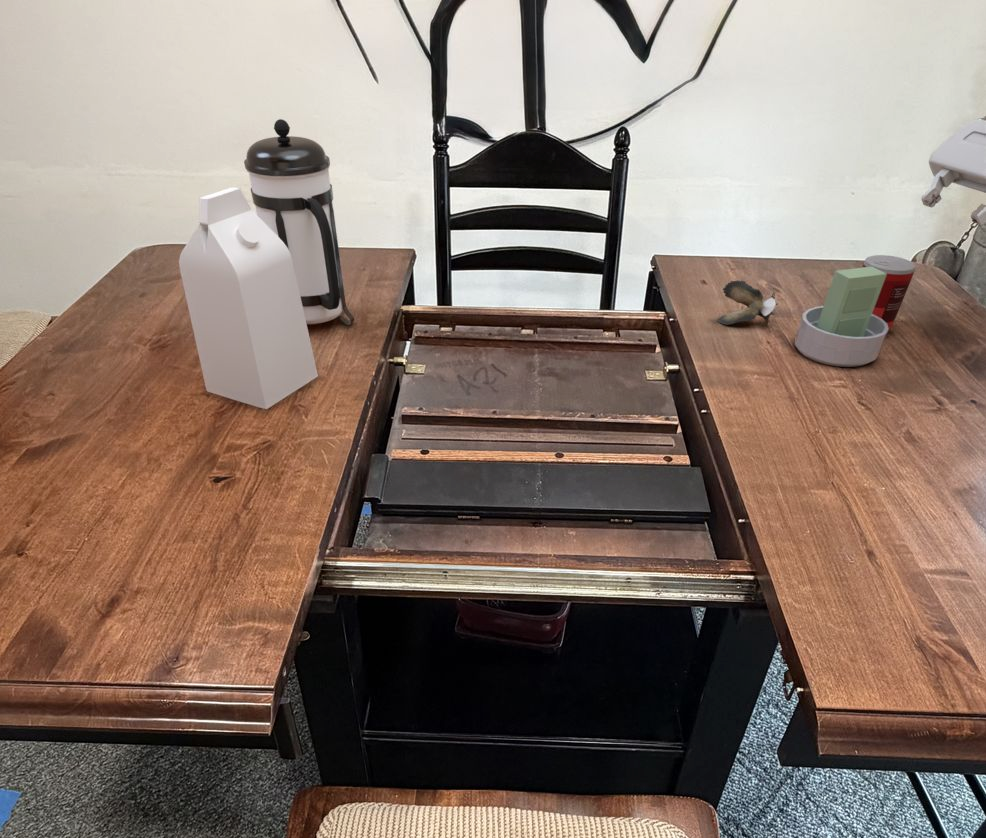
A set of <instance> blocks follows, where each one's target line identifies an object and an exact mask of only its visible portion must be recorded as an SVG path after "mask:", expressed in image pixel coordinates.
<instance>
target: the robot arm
mask: <svg viewBox="0 0 986 838" xmlns="http://www.w3.org/2000/svg"><path fill="white" fill-rule="evenodd" d="M928 165H929V168H930V171H931V173H932V175H933V177H934V178H933V181H932V182H931V185H930V188H929V189H928V190H927V191H926V192H925V193H924V194H923V195H922V196H921V200H920V201H921V203H922V205H923V206H926V207H928V208H934V207H935V206H936V204H938V203H940V201H941V200H942V196H941V194H942V193H941V192H942V191H943V189H944V188H948V187H949V186H950V185H951V184H956V185H959V186H962V187H965V188H968V189H972V190H975V191H978V192H982V193H985V194H986V115H985V116H983V117H980V118H978V119H973V120H971V121H969V122H968V123H965V125H963V126H962V127H959V129H958V130H956V131H955V132H954V133H953V134H952V135H950V136H949V137H948V138H947V139H945V140H944V141H943V142H942V143H941V144H940V145H938V147H936V149H935V150H934V151H932V152H931V154H930V156H929V159H928ZM970 219H971V220H972V221H971V222H972V223H974V224H976V225H978V226H983V225H984V224H986V204H983V203H981V204H979V206H977V208H976V209H975V210H973V211H972V212H971V214H970Z"/></svg>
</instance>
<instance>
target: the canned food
mask: <svg viewBox="0 0 986 838" xmlns="http://www.w3.org/2000/svg"><path fill="white" fill-rule="evenodd" d="M916 266H917V265H916V264H915V263H914V262H912V261H911V260H909V259H906V258H903V257H899V256H895V255H887V254H875V255H870V256H867V257H866V258H865V260H864V262H863V264H862V267H861V268H864V267H874V268H876V269H878V270H880V271H882V272H884V273H886V274H887V275H886V278H885V280H884V283H883V286H882V288H881V291H880V294H879V296H878V299H877V302H876V304H875V307H874V310H873V312H872V314H874V315H876V316H878V317H879V318H881V319H883V320H884V321H885V322H886V323H887V325H888V328H889V330H888V332H887V334H888V333H889V332H890V331H891V329H892V328H893V325H894V323H895V321H896V318H897V316H898V314H899V311H900V308H901V307H902V304H903V302H904V298H905V297H906V294H907V291H908V289H909V287H910V284H911V281H912V279H913V276H914V274H915V272H916V268H917V267H916Z"/></svg>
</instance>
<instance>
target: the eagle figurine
mask: <svg viewBox="0 0 986 838" xmlns="http://www.w3.org/2000/svg"><path fill="white" fill-rule="evenodd" d="M724 286H725V287H723V288H722V290H723V293H724V296H725V297H726V298H728V299H730V300H733V302H736V303H738V304H742V305H744V306H746V308H743V309H742V308H741V309H738V310H734V311H731V312H729V313H728V314H723V315H721V316H719V317H718V318H716V321H717V322H718V323H719V324H722V325H733V324H735V323H740V322H744V321H746V322H750V321H753V320H755V319H756V318H757V316H759V317H761V318H762V319H763V320H764V323H765V324H766V325H768V324H769V321H770V316H775V313H774V310H775V308H776V306H778V305H779V302H776V300H775V299H776V296H775V295H776V290H774V291H773V292H772V294H771V296H770V297H769V298H767V299H766V300H764V301H763V299H764V295H763V293H762V292H761V290H760V289H757V288H754V287H753V286H752V285H749V283H747V282H746V281H744V280H740V279H739V280H738V279H737V280H731V281H730V282H728V283H727V284H725V285H724Z"/></svg>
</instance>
